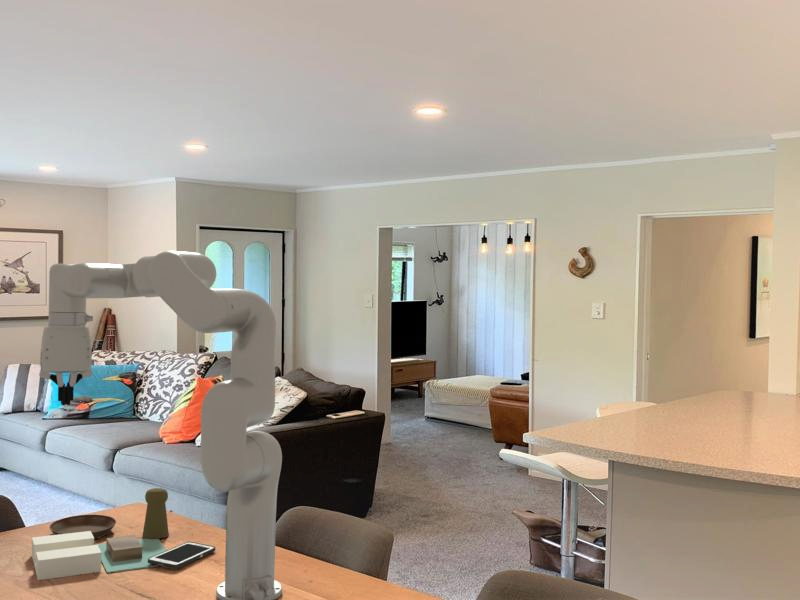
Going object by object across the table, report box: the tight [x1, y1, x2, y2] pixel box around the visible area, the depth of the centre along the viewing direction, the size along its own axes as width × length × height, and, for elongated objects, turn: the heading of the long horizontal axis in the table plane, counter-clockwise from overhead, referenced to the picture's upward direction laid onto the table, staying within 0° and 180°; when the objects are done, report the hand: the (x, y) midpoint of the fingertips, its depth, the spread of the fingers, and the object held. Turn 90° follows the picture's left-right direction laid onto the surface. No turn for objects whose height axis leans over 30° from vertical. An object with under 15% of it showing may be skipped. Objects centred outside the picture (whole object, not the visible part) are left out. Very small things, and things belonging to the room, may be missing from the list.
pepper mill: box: [142, 487, 170, 539], centre depth 191 cm, size 6×6×11 cm
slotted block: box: [31, 531, 102, 581], centre depth 171 cm, size 16×12×4 cm
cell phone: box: [148, 541, 216, 570], centre depth 176 cm, size 8×15×1 cm, turn 158°
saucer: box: [49, 514, 117, 540], centre depth 192 cm, size 15×15×3 cm
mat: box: [95, 538, 168, 574], centre depth 178 cm, size 19×14×1 cm
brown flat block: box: [105, 534, 142, 562], centre depth 178 cm, size 9×6×2 cm, turn 29°
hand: (65, 404), depth 176 cm, fingers closed
